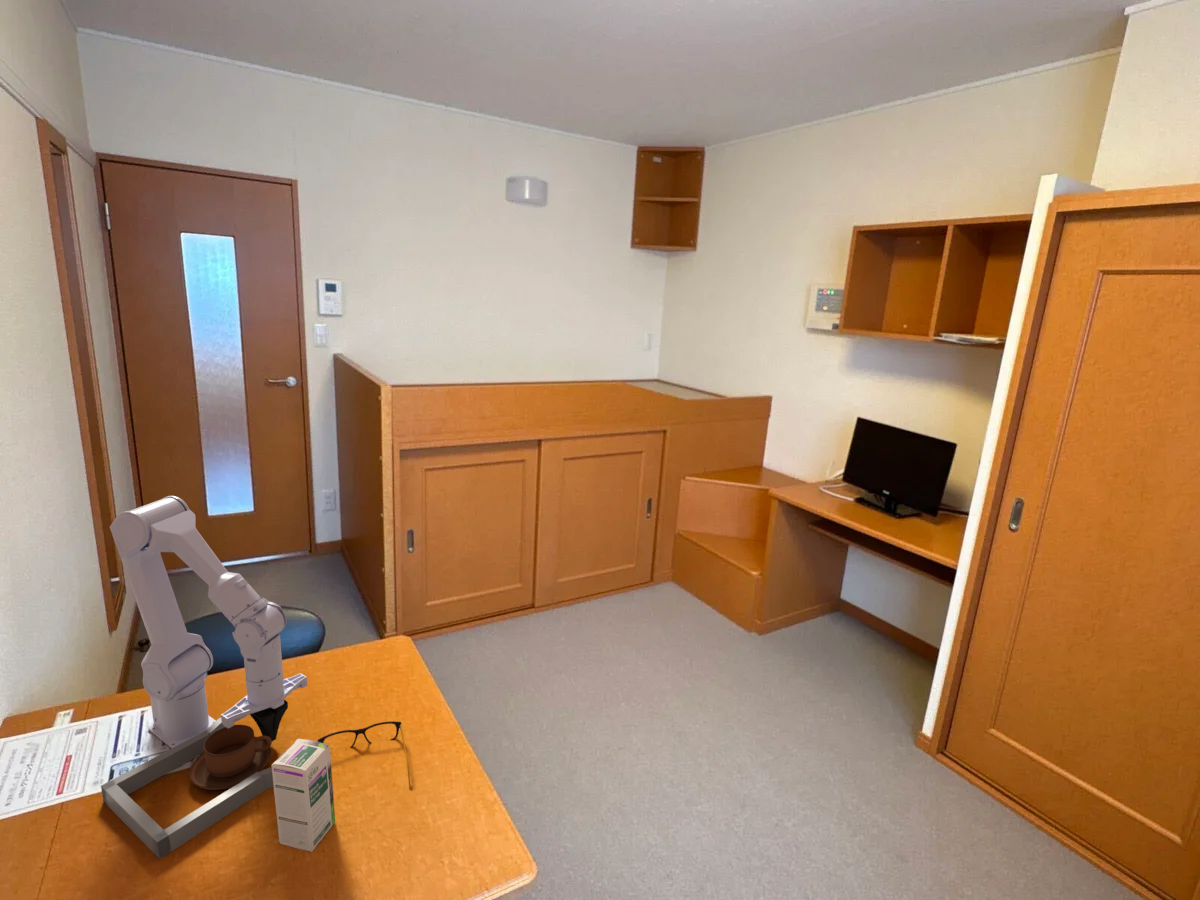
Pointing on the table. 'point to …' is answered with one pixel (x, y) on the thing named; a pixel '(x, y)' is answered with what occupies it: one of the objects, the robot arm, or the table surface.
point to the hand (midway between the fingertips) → (269, 738)
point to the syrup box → (303, 794)
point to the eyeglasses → (362, 731)
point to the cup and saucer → (230, 758)
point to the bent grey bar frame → (195, 821)
